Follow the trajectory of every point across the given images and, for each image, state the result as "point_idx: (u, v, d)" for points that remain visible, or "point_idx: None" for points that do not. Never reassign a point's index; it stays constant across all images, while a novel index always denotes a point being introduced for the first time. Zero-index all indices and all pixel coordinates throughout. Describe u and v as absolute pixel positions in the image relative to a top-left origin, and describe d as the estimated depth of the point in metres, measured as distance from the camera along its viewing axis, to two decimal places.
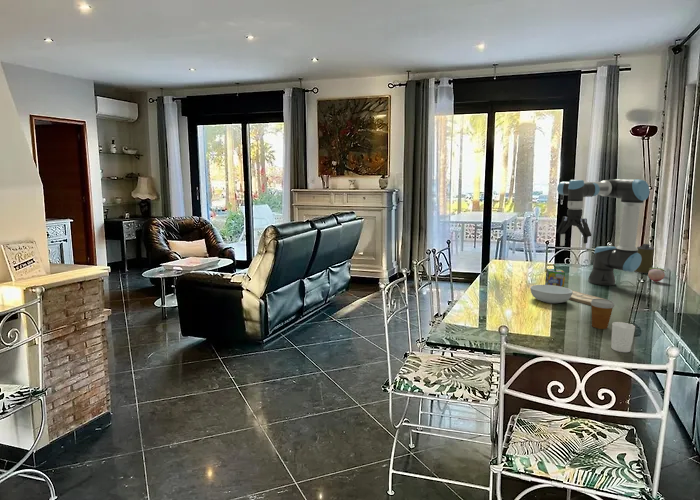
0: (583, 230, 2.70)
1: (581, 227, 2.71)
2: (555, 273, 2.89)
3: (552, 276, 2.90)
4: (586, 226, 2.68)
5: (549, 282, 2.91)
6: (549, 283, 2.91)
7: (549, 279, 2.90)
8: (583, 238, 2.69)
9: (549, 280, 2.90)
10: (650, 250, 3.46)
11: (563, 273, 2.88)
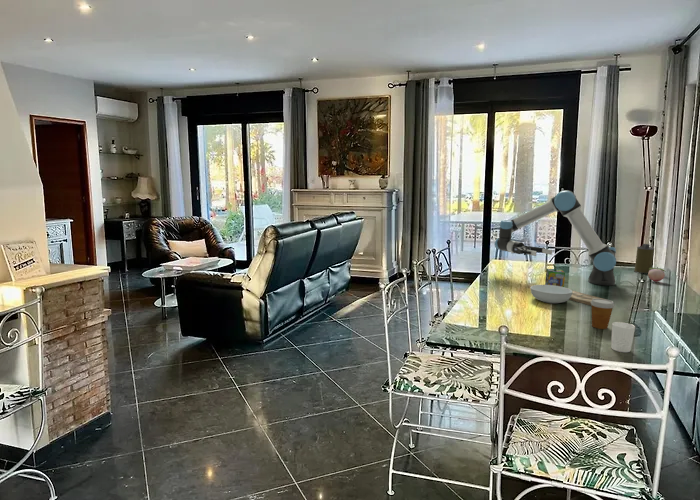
0: None
1: None
2: (555, 273, 2.89)
3: (552, 276, 2.90)
4: (518, 250, 3.06)
5: (549, 282, 2.91)
6: (549, 283, 2.91)
7: (549, 279, 2.90)
8: (527, 253, 3.01)
9: (549, 280, 2.90)
10: (650, 250, 3.46)
11: (563, 273, 2.88)
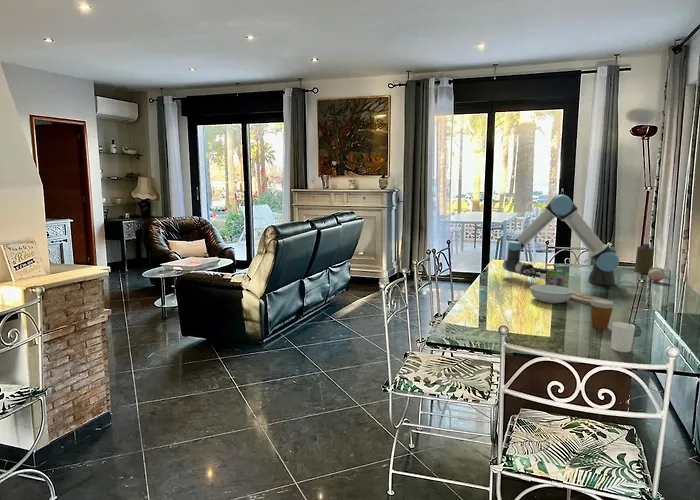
0: None
1: None
2: (555, 273, 2.89)
3: (552, 276, 2.90)
4: (527, 273, 3.01)
5: (549, 282, 2.91)
6: (549, 283, 2.91)
7: (549, 279, 2.90)
8: (536, 276, 2.96)
9: (549, 280, 2.90)
10: (650, 250, 3.46)
11: (563, 273, 2.88)
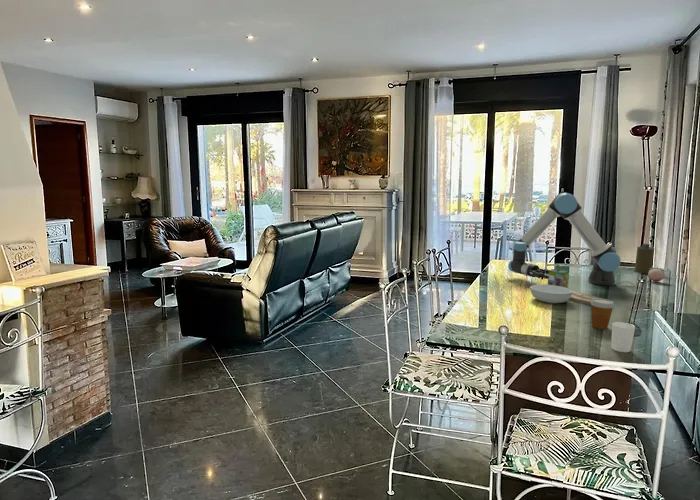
0: None
1: None
2: (554, 273, 2.89)
3: None
4: (534, 274, 2.97)
5: (548, 282, 2.91)
6: (548, 283, 2.91)
7: None
8: (544, 278, 2.92)
9: (548, 280, 2.91)
10: (650, 250, 3.46)
11: (562, 274, 2.86)
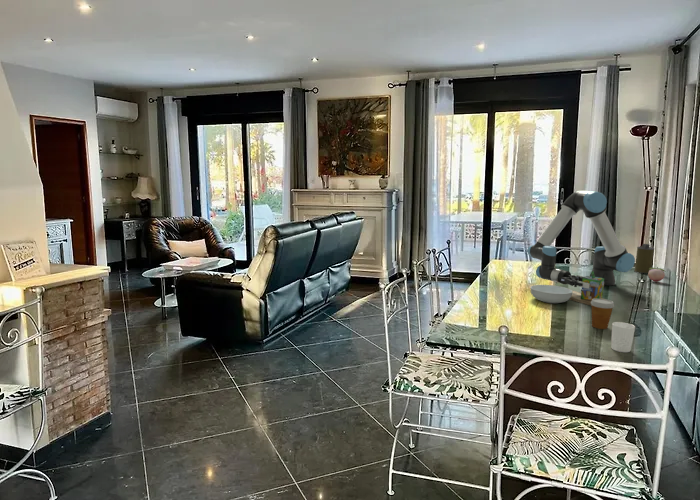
0: None
1: None
2: (589, 280, 2.64)
3: None
4: (566, 281, 2.73)
5: (582, 290, 2.67)
6: (582, 291, 2.67)
7: None
8: (578, 285, 2.68)
9: None
10: (650, 250, 3.46)
11: (598, 281, 2.62)
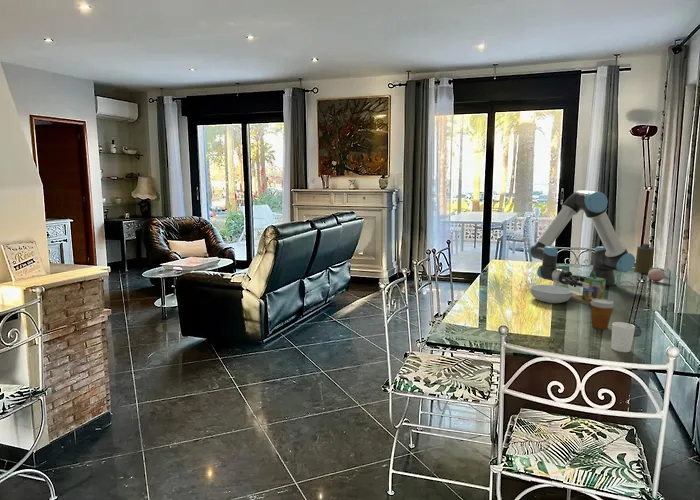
0: None
1: (571, 281, 2.74)
2: (591, 281, 2.64)
3: None
4: (566, 281, 2.73)
5: (584, 290, 2.67)
6: (584, 291, 2.67)
7: None
8: (578, 285, 2.68)
9: (584, 288, 2.67)
10: (650, 250, 3.46)
11: (600, 282, 2.61)
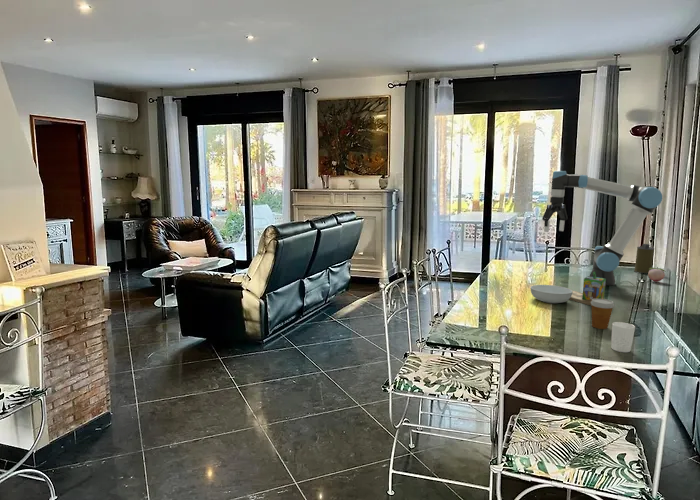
0: (548, 215, 3.05)
1: (550, 212, 3.05)
2: (591, 281, 2.64)
3: (587, 283, 2.65)
4: (546, 211, 3.04)
5: (584, 290, 2.67)
6: (584, 291, 2.67)
7: (584, 287, 2.66)
8: (545, 221, 3.06)
9: (584, 288, 2.67)
10: (650, 250, 3.46)
11: (600, 282, 2.61)
